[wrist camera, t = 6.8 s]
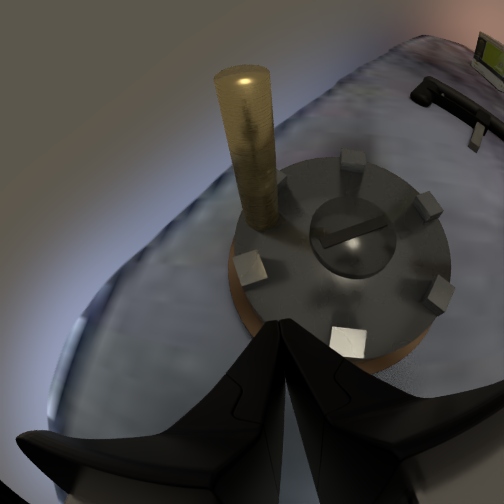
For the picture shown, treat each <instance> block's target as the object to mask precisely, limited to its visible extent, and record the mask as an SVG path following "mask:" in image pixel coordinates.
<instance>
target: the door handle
mask: <svg viewBox="0 0 504 504" xmlns="http://www.w3.org/2000/svg"><path fill="white" fill-rule="evenodd" d="M410 96H411V98H412V100H413V101H414V102H416V103H417V104H419V105H421V106H425V107H426V106H429V105H430V104H431V102H433V103H435V104H436V105H438V106H440V107H441V108H443V109H445V110H446V111H448V112H450V113H451V114H453V115H454V116H456V117H458V118H459V119H461V120H462V121H464V122H465V123H467V124H468V125H469V126H471V127H472V128H473V129H474V131H473V134H472V137H471V139H470V142H469V145H468V147H469V148H470V149H472V150H473V151H474V152H476V153H477V151H478V149H479V147H480V144H481V140H482V137H483V136H485V134H486V132H487V130H488V128H489V129H490V130H492V131H493V132H494V133H495V134H497V135H498V136H499V137H501V138H502V139H503V140H504V123H503V122H502V121H500V120H499V119H498V118H496V117H495V116H494V115H492V114H491V113H490V112H488V111H487V110H486V109H484V108H483V107H481V106H480V105H478V104H477V103H475V102H474V101H472V100H471V99H469V98H468V97H466V96H464V95H463V94H461V93H460V92H458V91H456V90H455V89H453V88H451V87H449V86H448V85H446V84H444V83H442V82H441V81H439V80H437V79H435V78H433V77H431V76H427V77H425V78H424V80H423V82H422V83H421V84H420V85H418V86H417V87H416V88H415V89H414V90H413V91H412V92H411V94H410Z"/></svg>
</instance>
